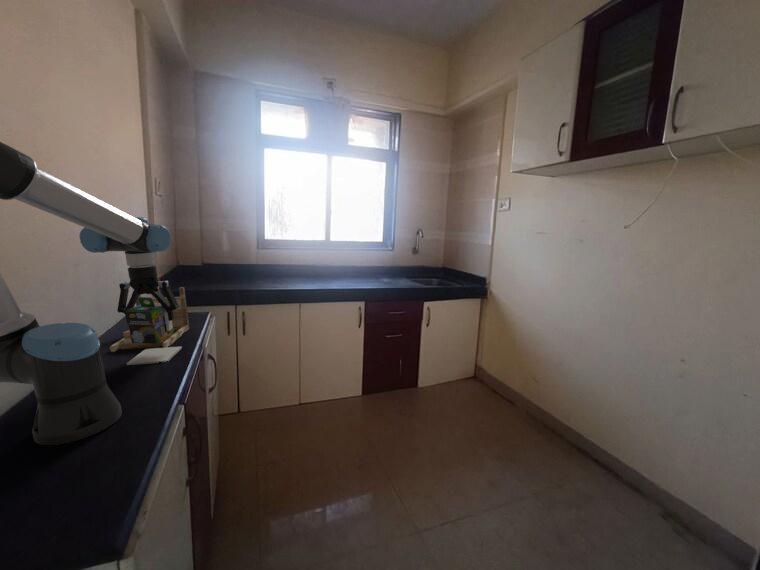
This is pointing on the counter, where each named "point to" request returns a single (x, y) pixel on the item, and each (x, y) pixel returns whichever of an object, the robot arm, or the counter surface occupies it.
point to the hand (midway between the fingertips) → (152, 330)
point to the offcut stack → (129, 345)
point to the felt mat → (154, 355)
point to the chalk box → (148, 322)
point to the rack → (179, 320)
